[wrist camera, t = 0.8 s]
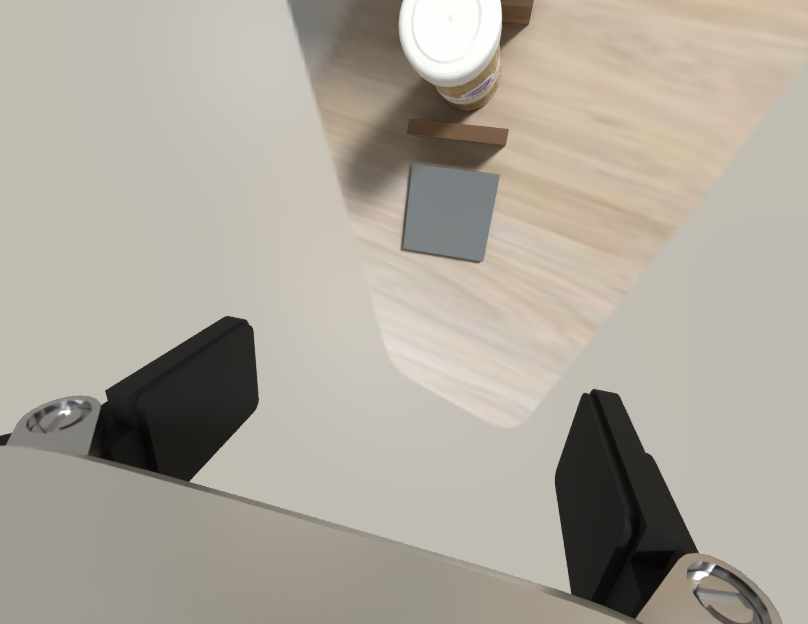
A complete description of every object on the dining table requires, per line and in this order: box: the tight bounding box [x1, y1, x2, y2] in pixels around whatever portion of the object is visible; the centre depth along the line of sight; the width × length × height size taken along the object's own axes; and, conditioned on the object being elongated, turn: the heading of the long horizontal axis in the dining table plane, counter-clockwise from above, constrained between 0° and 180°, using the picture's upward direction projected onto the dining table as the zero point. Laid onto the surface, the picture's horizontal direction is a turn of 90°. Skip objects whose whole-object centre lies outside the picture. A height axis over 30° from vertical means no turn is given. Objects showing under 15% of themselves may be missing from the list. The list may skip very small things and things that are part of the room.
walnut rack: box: [407, 0, 534, 146], centre depth 27 cm, size 9×7×4 cm
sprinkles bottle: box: [399, 0, 502, 110], centre depth 23 cm, size 5×5×14 cm
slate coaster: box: [403, 164, 500, 261], centre depth 33 cm, size 7×7×1 cm
